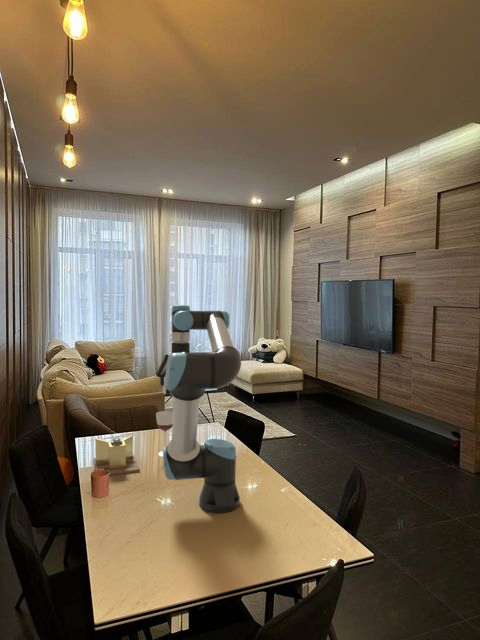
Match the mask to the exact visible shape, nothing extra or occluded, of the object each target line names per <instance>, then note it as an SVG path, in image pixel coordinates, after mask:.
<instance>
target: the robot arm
mask: <svg viewBox="0 0 480 640" xmlns="http://www.w3.org/2000/svg"><path fill="white" fill-rule="evenodd" d="M190 308H191V307H190V305H185V304H184V305H183V304H176V305H172V307H171V342H172V343H171V353H170V354H169V353H168V354H167V353H164V354H163V359H162V361H161V363H160V365H159V367H158V369H157V371H156V373H155V375H156V377H158V378H160V379H159V381H160V382H159V383H160V384H159V385H160V386H161V387H162V394H163V395H166V394H167V390H168V391H169V394H170V395H171V397H173V400H172V401H173V402H172V403H173V404H172V412H173V426H172V427H171V429H172V431H171V432H172V433H171V440H170V441H169V442H168V444H167V445H166V447H164V446H163V448H162V449H163V450H162V451H163V456H162V459H163V470H164V475H165V477H166V479H167V480H169V481H170V480H172V481H173V480H174V481H180V480H182V481H183V480H193V479H194V480H195V479H203V480H204V481H203V485H202V487H201V491H200V494H199V498H198V499H199V500H198V503H199V504H198V505H199V507H200V508H201V509H203V510H204V511H206V512H210V513H213V514H214V513H215V514H216V513H218V514H220V513H221V514H222V513H223V514H224V513H229V512H233V511H234V510H237V509H238V508H239V507H240V502H241V501H240V500H241V499H240V493H239V491H238V486H237V484H236V475H237V474H236V473H237V471H236V470H237V469H236V468H237V467H236V466H237V452H236V445H234V444H233V443H232V442H230V441H227V440H225V439H220V438H210V439H206V440H205V441H204V442H203V443H204V444H200V443H199V441H198V440H197V437H198V436H197V435H198V423H199V413H200V412H199V411H200V400H201V398H203V397H204V395H205V393H206V390H212V389H213V390H214V389H215V390H216V389H221V388H224V387H226V386H228V385H229V384H231V383H232V382H233V381H234V380H236V378H237V377H238V375H239V374H240V373H239V372H240V371H241V368H242V359H241V355H240V352H239V350H238V349H237V348H236V347H234V344H233V341H232V338H231V335H230V332H229V331H228V330H229V328H230V314H229V312H228V311H225V310H223V311H222V310H191V309H190ZM191 330H196V331H197V330H200V331H201V330H202V331H205V330H207V331H206V332H207V334H208V339H209V344H210V346H211V352H208V351H207V352H206V351H205V352H200V351H199V352H191V350H190V345H191V344H190V341H191V334H190V333H191ZM164 368H165V369H164Z"/></svg>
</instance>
